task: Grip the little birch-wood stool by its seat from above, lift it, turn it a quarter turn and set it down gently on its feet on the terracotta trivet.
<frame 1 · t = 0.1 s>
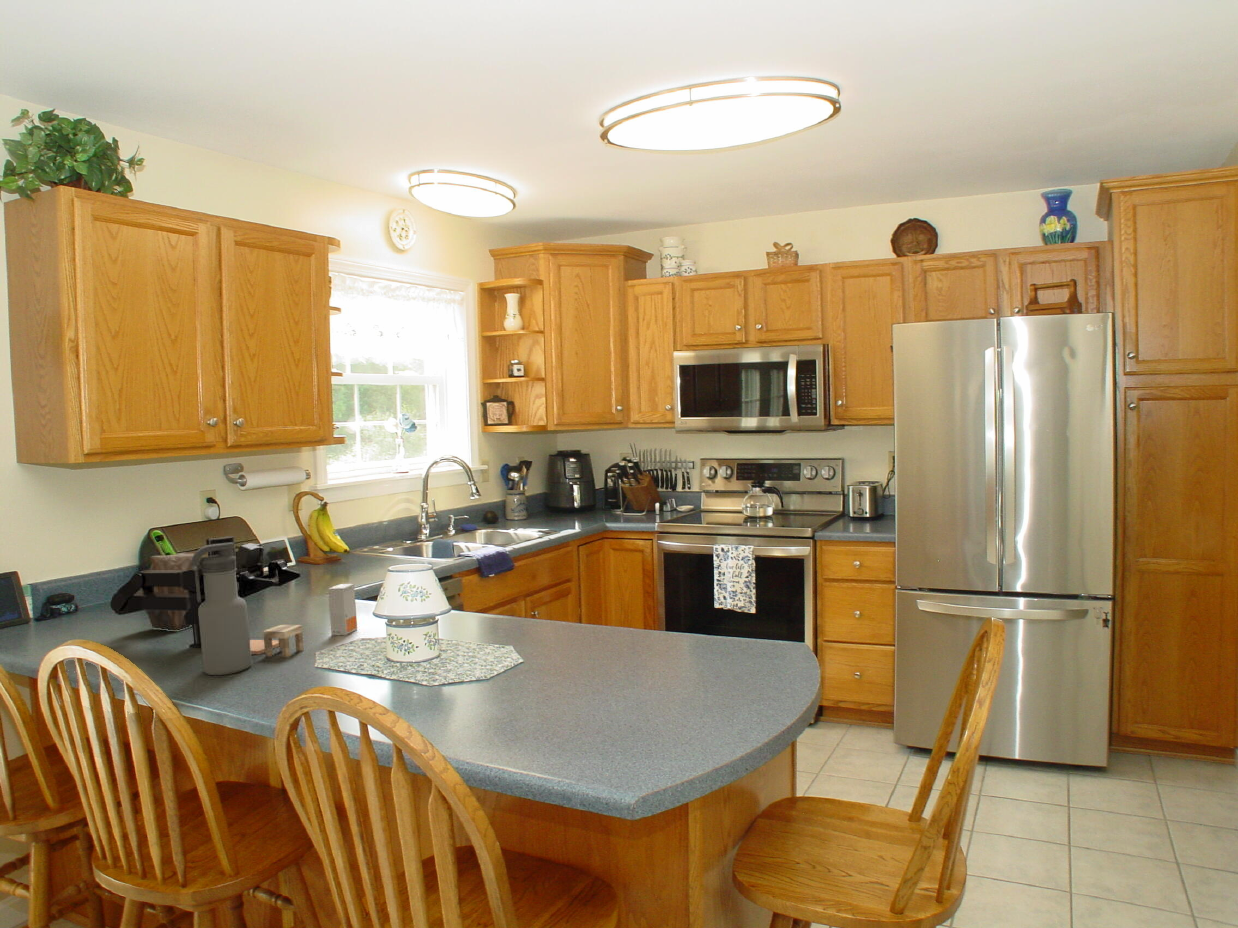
hand: (287, 579, 208), 17 cm above the countertop, tool horizontal, fingers open, 9 cm apart
tree stump: (177, 627, 239), on the countertop
birch stool: (284, 653, 204), on the countertop
water bottle: (227, 670, 192), on the countertop
skincare box: (344, 633, 221), on the countertop
trivet: (255, 648, 210), on the countertop
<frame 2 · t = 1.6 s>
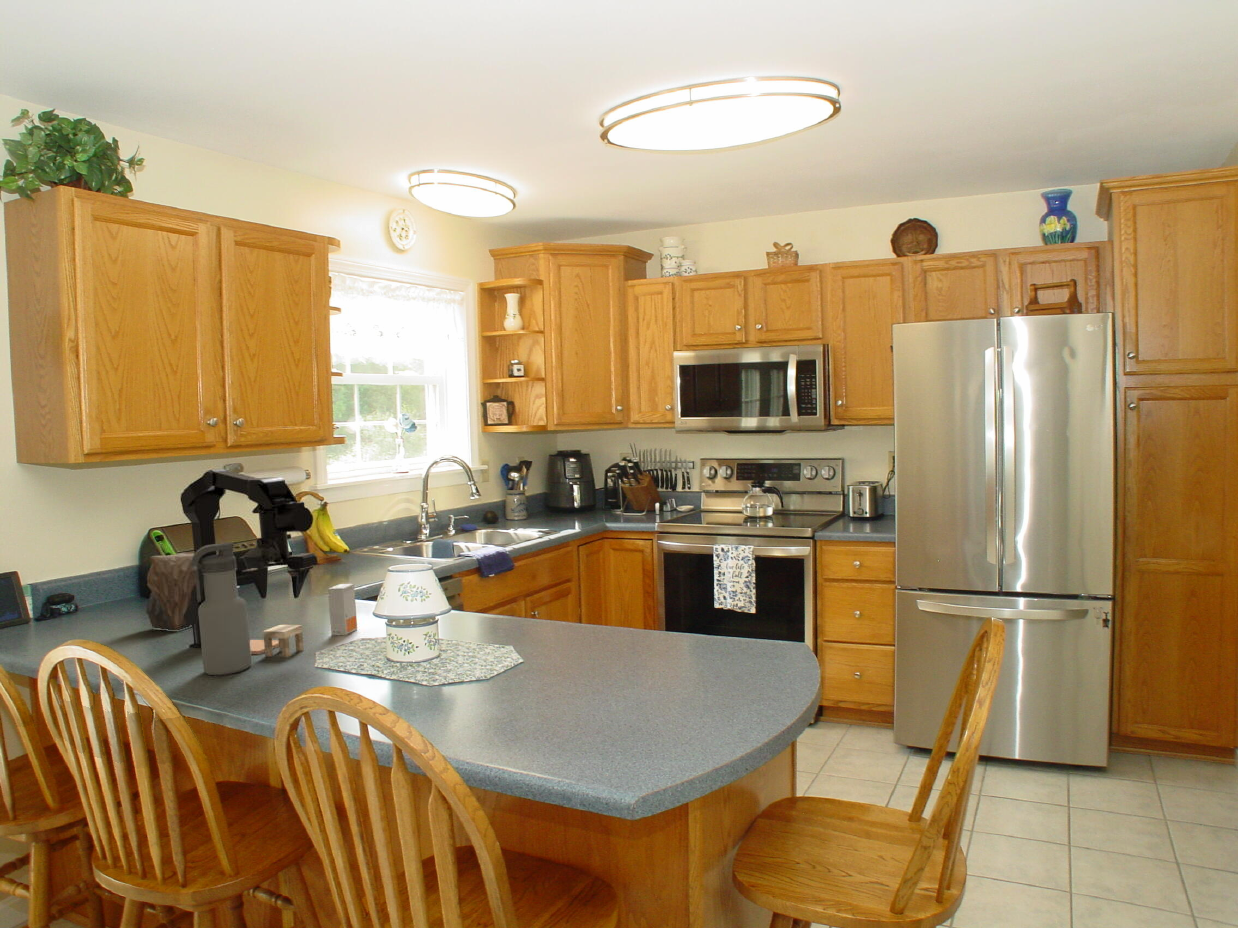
hand: (280, 597, 203), 13 cm above the countertop, tool pointing down, fingers open, 9 cm apart
nothing on the countertop moved.
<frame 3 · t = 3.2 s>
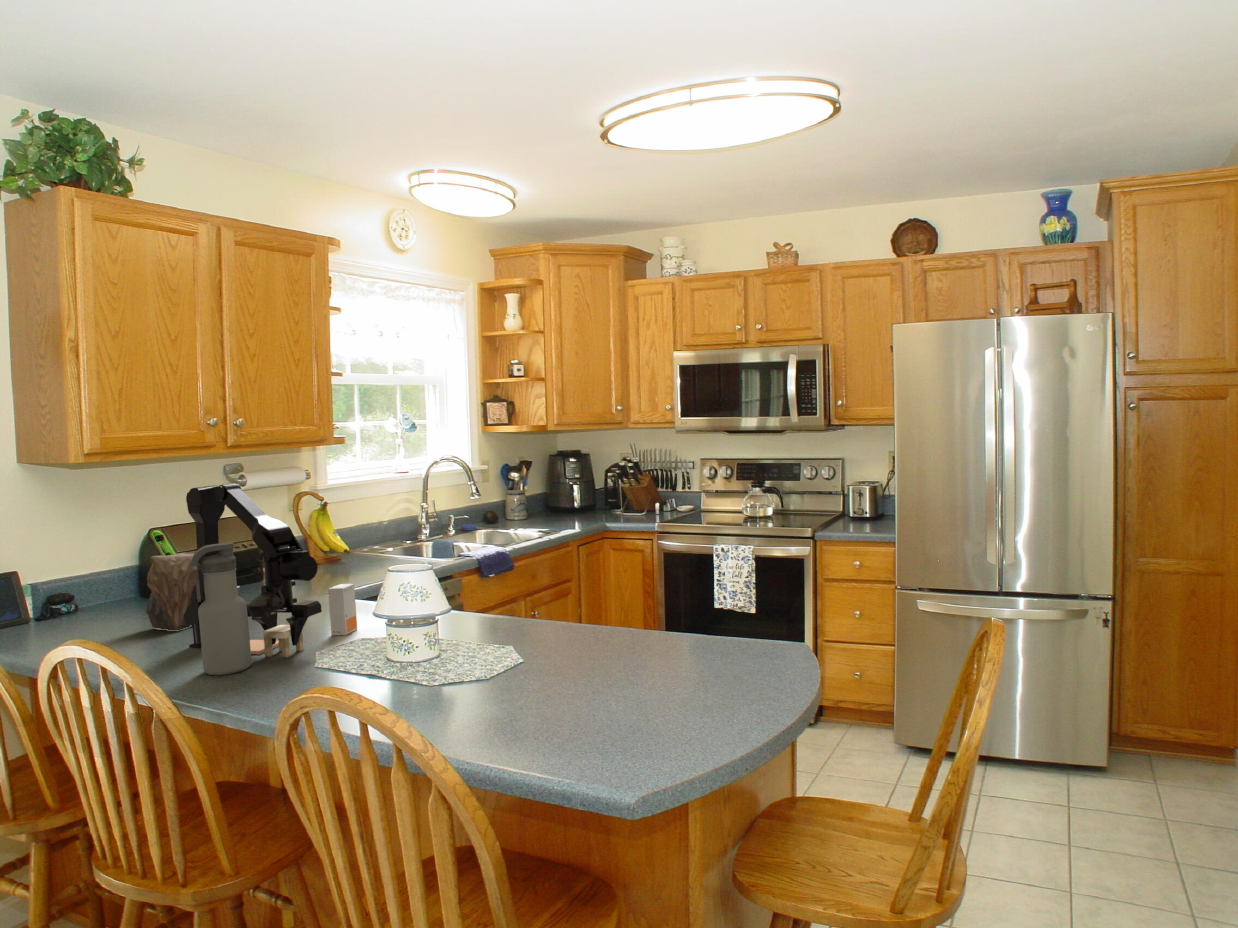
hand: (284, 644, 203), 2 cm above the countertop, tool pointing down, fingers closed on birch stool, 6 cm apart
birch stool: (284, 653, 204), on the countertop, touching gripper
everything else where it was.
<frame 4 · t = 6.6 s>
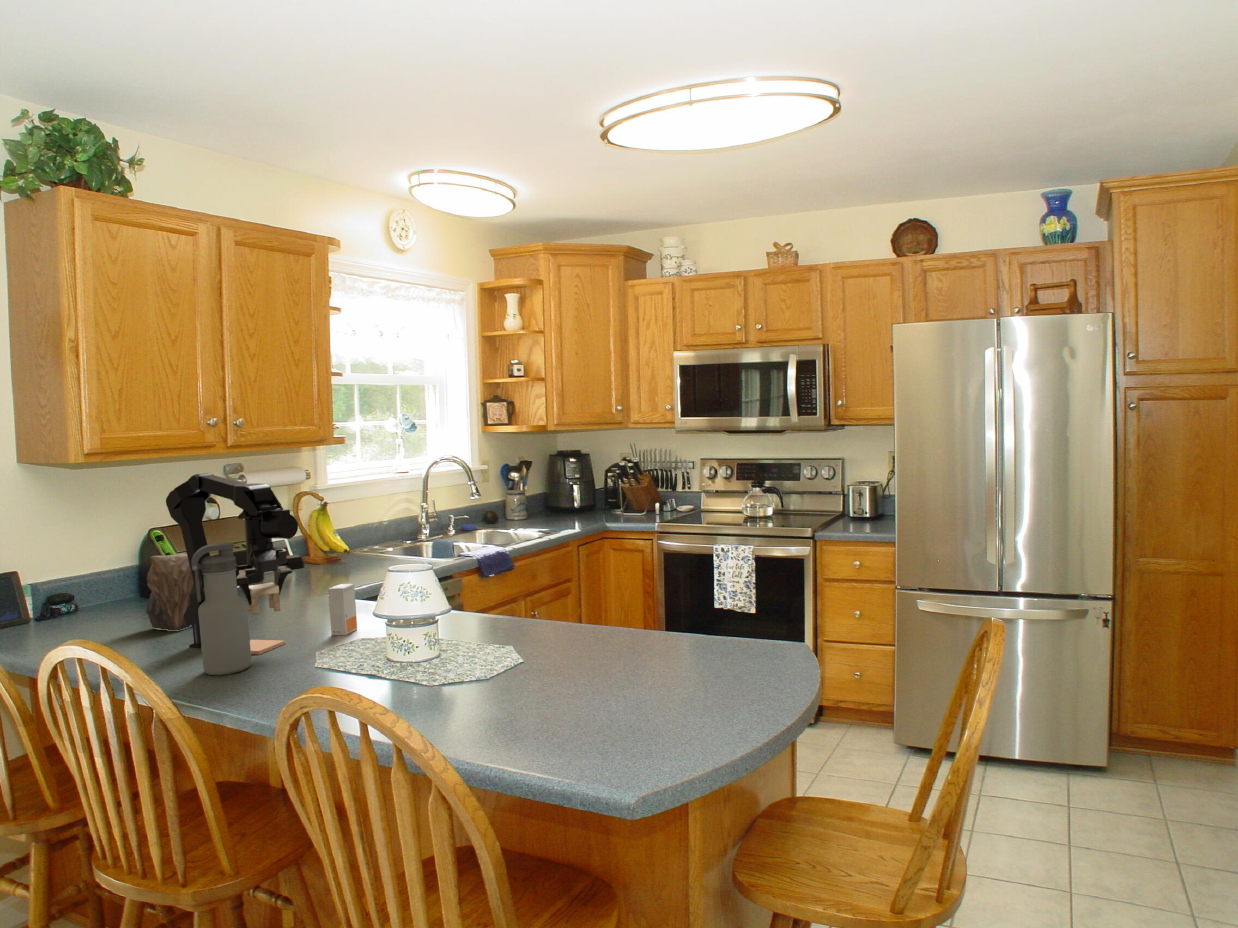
hand: (263, 602, 206), 12 cm above the countertop, tool pointing down, fingers closed on birch stool, 6 cm apart
birch stool: (264, 610, 207), point 10 cm above the countertop, touching gripper
everything else where it was.
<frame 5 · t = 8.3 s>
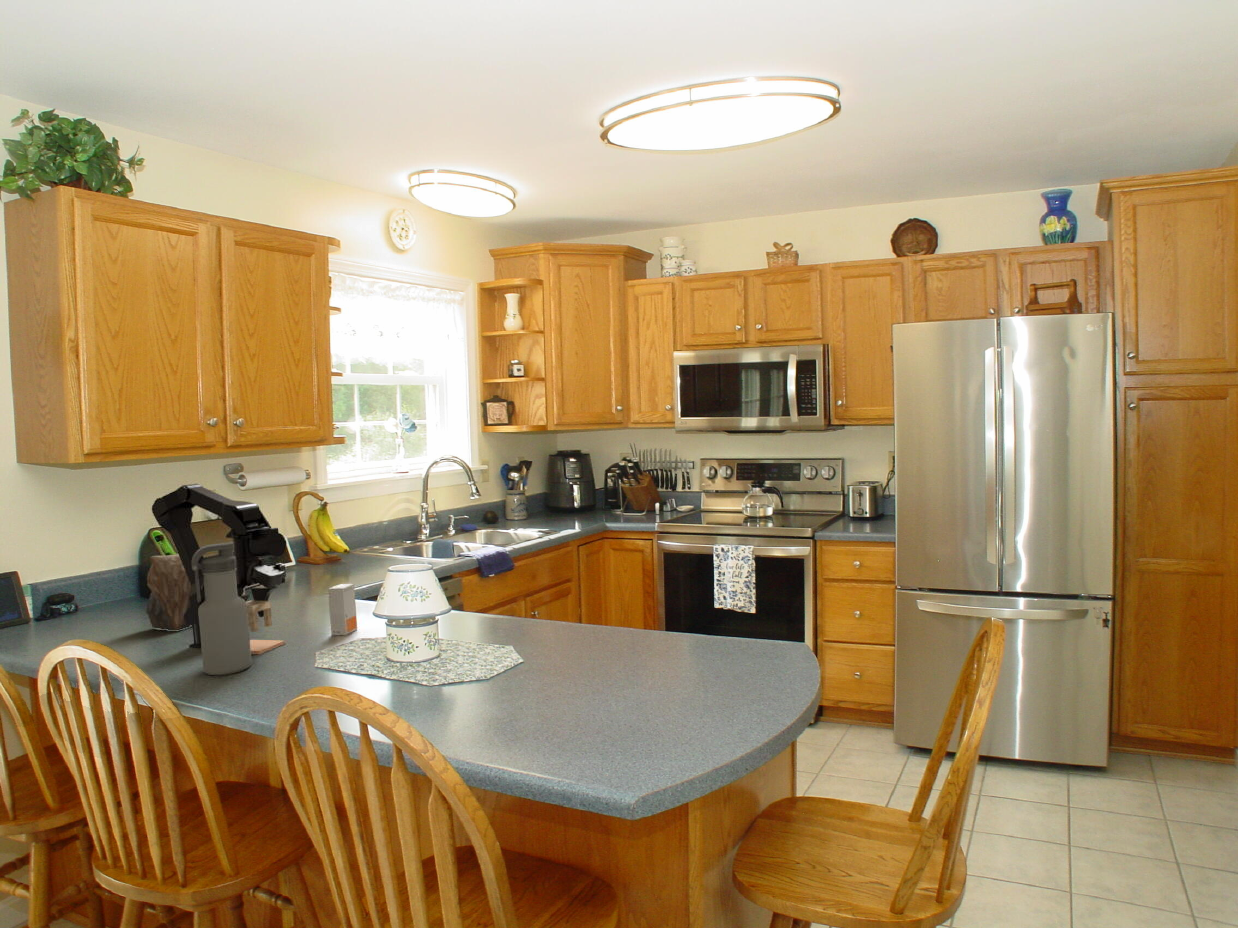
hand: (252, 619, 209), 7 cm above the countertop, tool pointing down, fingers closed on birch stool, 6 cm apart
birch stool: (253, 627, 210), point 5 cm above the countertop, touching gripper
everything else where it was.
when the fingers open (4 cm above the countertop, at t = 9.9 s): birch stool stays where it is, resting on trivet.
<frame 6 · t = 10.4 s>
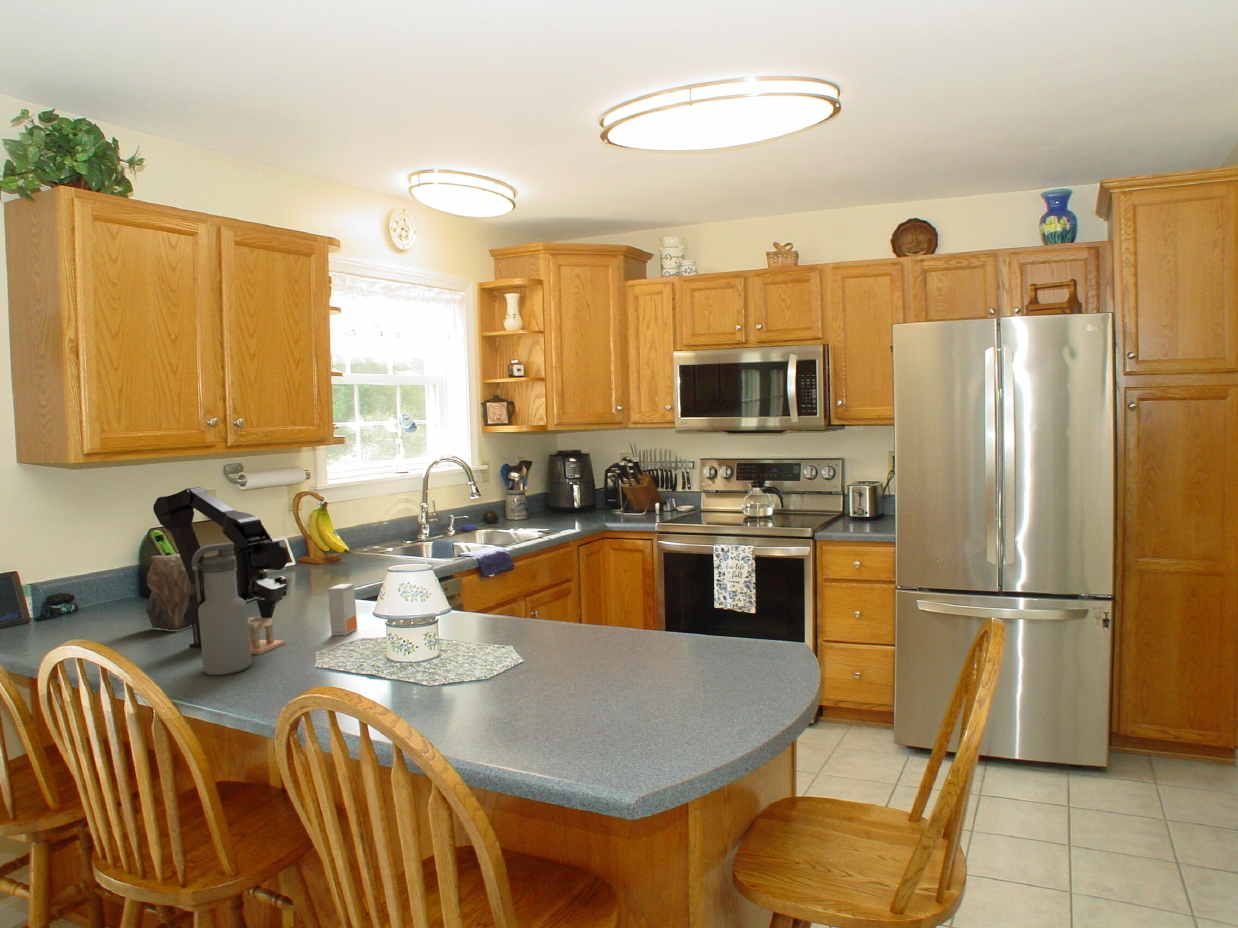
hand: (254, 632, 210), 4 cm above the countertop, tool pointing down, fingers open, 9 cm apart
birch stool: (255, 645, 210), point 1 cm above the countertop, touching trivet
everything else where it was.
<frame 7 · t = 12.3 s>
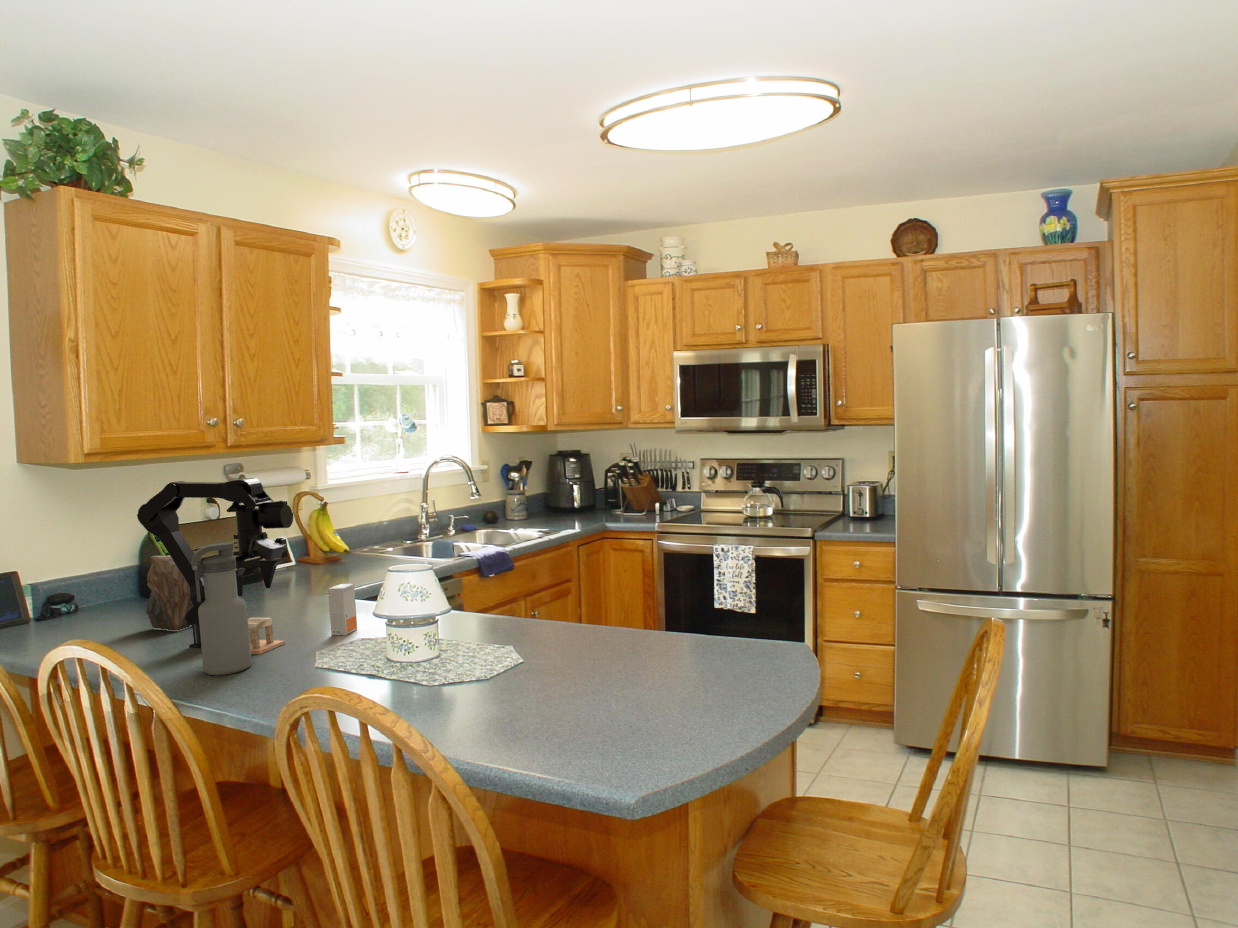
hand: (254, 592, 214), 13 cm above the countertop, tool pointing down, fingers open, 9 cm apart
nothing on the countertop moved.
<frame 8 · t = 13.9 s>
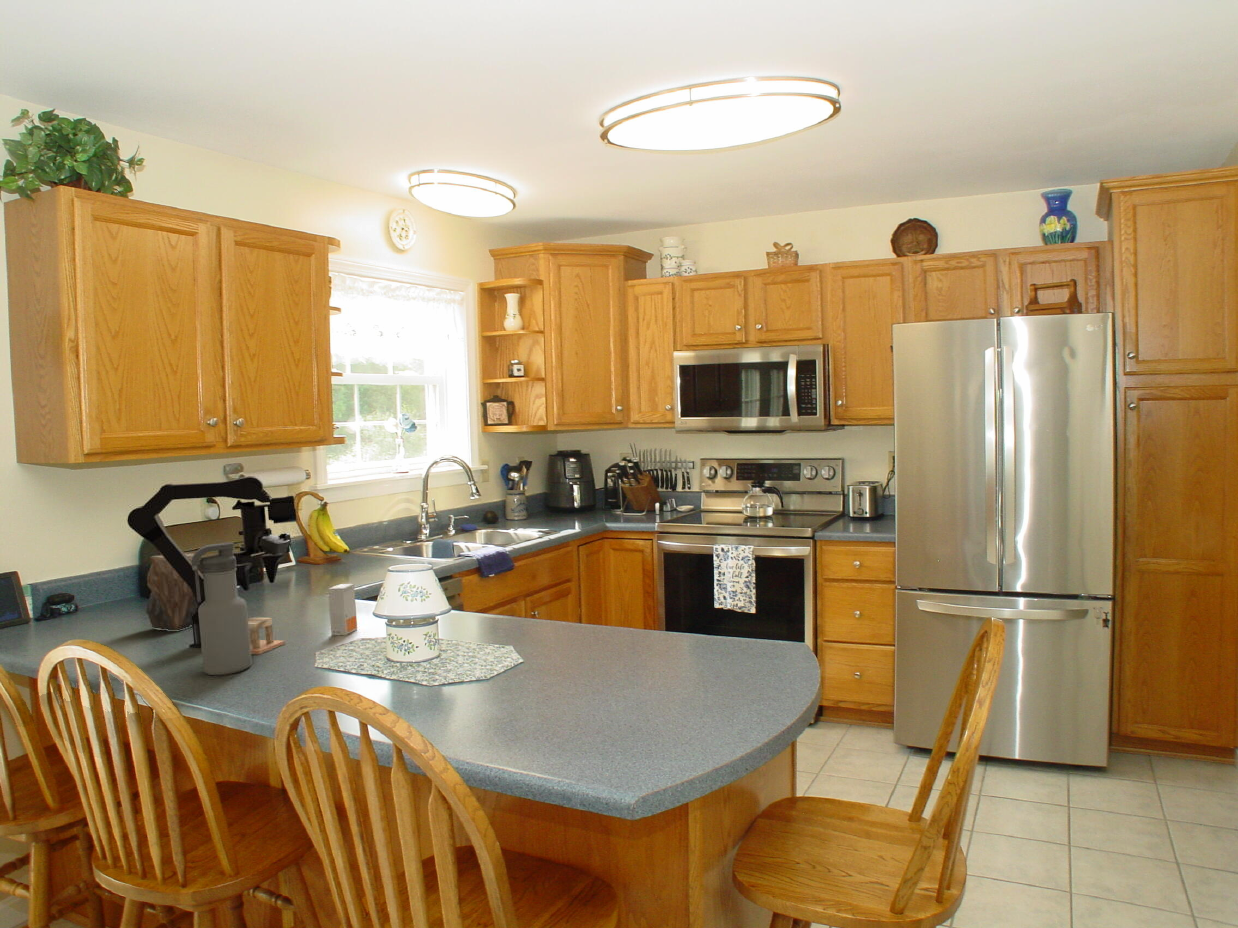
hand: (259, 586, 220), 13 cm above the countertop, tool pointing down, fingers open, 9 cm apart
nothing on the countertop moved.
at the end: birch stool 0.0 cm off-centre on the trivet, point 0.8 cm above the trivet's base; birch stool tilted 0°; the gripper is holding nothing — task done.
